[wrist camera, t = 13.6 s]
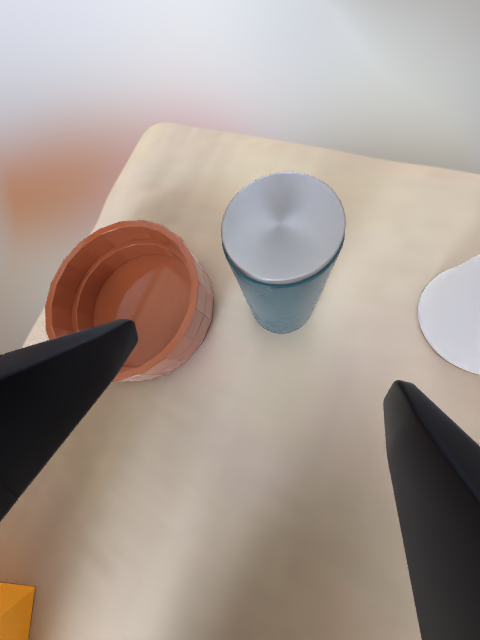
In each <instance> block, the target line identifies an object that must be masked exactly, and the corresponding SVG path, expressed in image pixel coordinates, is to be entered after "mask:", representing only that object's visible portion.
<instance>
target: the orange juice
mask: <svg viewBox="0 0 480 640" xmlns="http://www.w3.org/2000/svg"><path fill="white" fill-rule="evenodd" d="M34 593H35V587H32V586H24V585H17V584H9V583H1V582H0V640H28V637H29V630H30V622H31V615H32V608H33V600H34Z"/></svg>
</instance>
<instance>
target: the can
mask: <svg viewBox="0 0 480 640" xmlns="http://www.w3.org/2000/svg"><path fill="white" fill-rule="evenodd" d="M345 224H346V223H345V213H344V209H343V206H342V204H341V201H340V200H339V198H338V196H337V195H336V194H335V192H334V191H333V190H332V189H331V188H330V187H329V186H328V185H327V184H325V183H324V182H322V181H321V180H319V179H317V178H315V177H312V176H309V175H306V174H302V173H295V172H282V173H275V174H270V175H267V176H264V177H261V178H259V179H257V180H255V181H253V182H251V183H249V184H248V185H247V186H245V187H244V188H243V189H242V190H240V191H239V192H238V193H237V194H236V196H235V197H234V198H233V199H232V201H231V202H230V204H229V205H228V207H227V209H226V211H225V214H224V217H223V221H222V227H221V236H222V246H223V250H224V254H225V256H226V259H227V261H228V263H229V265H230V267H231V269H232V271H233V273H234V275H235V277H236V279H237V281H238V283H239V286H240V288H241V290H242V292H243V294H244V296H245V298H246V300H247V302H248V304H249V306H250V308H251V310H252V312H253V315H254V317H255V318H256V320H257V322H258V323H259V324H260V325H261V326H262V327H264V328H265V329H267V330H269V331H271V332H275V333H289V332H292V331H295V330H297V329H299V328H300V327H301V326H303V325H304V324H305V323H306V321H307V320H308V318H309V317H310V314H311V312H312V310H313V308H314V306H315V304H316V302H317V300H318V297H319V295H320V293H321V291H322V289H323V287H324V285H325V283H326V280H327V278H328V276H329V274H330V272H331V270H332V268H333V266H334V263H335V261H336V259H337V257H338V255H339V253H340V250H341V248H342V245H343V241H344V236H345Z"/></svg>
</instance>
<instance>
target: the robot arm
mask: <svg viewBox="0 0 480 640" xmlns="http://www.w3.org/2000/svg"><path fill="white" fill-rule="evenodd" d="M137 343H138V333H137V329H136V325H135V322H134V321H133V320H129V319H125V318H122V319H118V320H115V321H112V322H108V323H105V324H102V325H98V326H95V327H92V328H88V329H85V330H82V331H78V332H75V333H72V334H68V335H65V336H62V337H58V338H55V339H52V340H48V341H45V342H42V343H38V344H35V345H32V346H28V347H25V348H22V349H18V350H15V351H12V352H8V353H5V354H4V355H0V522H1V520H2V519H3V518H4V517H5V515H6V514H7V513H8V512H9V510H10V509H11V508H12V507H13V505H14V504H15V503H16V501H17V500H18V498H19V497H20V496H21V495H22V494H23V492H24V491H25V490H26V489H27V487H28V486H29V485H30V484H31V482H32V481H33V480H34V479H35V477H36V476H37V475H38V474H39V472H40V471H41V470H42V469H43V467H44V466H45V465H46V464H47V462H48V461H49V460H50V459H51V457H52V456H53V455H54V454H55V452H56V451H57V450H58V448H59V447H60V446H61V445H62V443H63V442H64V441H65V440H66V438H67V437H68V436H69V435H70V433H71V432H72V431H73V430H74V428H75V427H76V426H77V425H78V423H79V422H80V421H81V420H82V418H83V417H84V416H85V415H86V413H87V412H88V411H89V410H90V408H91V407H92V406H93V405H94V403H95V402H96V401H97V400H98V398H99V397H100V396H101V395H102V393H103V392H104V391H105V390H106V388H107V387H108V386H109V384H110V383H111V382H112V381H113V379H114V378H115V377H116V375H117V374H118V372H119V371H120V369H121V368H122V366H123V365H124V363H125V362H126V360H127V359H128V357H129V356H130V354H131V353H132V351H133V349H134V348H135V346H136V345H137ZM383 407H384V421H385V436H386V449H387V457H388V464H389V469H390V474H391V480H392V485H393V490H394V495H395V501H396V506H397V511H398V517H399V522H400V527H401V532H402V538H403V543H404V548H405V553H406V559H407V564H408V569H409V575H410V580H411V585H412V590H413V596H414V601H415V606H416V612H417V617H418V622H419V627H420V633H421V638H422V640H480V446H479V445H478V444H477V443H476V442H475V441H474V440H472V439H471V438H470V437H469V436H468V435H467V434H466V433H465V432H464V431H463V430H462V429H461V428H460V427H459V426H458V425H456V424H455V423H454V422H453V421H452V420H451V419H450V418H449V417H448V416H447V415H446V414H445V413H444V412H443V411H442V410H441V409H439V408H438V407H437V406H436V405H435V404H434V403H433V402H432V401H431V400H430V399H429V398H428V397H427V396H426V395H425V394H423V393H422V392H421V391H420V390H419V389H418V388H417V387H416V386H415V385H414V384H412V383H410V382H405V381H401V380H396V381H395V382H394V383H393V384H392V386H391V388H390V389H389V391H388V393H387V395H386V396H385V398H384V403H383Z"/></svg>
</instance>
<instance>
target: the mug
mask: <svg viewBox="0 0 480 640" xmlns="http://www.w3.org/2000/svg"><path fill="white" fill-rule="evenodd" d="M418 319H419V324H420V327H421V330H422V332H423V334H424V336H425V338H426V340H427V341H428V343H429V344H430V345H431V346H432V348H433V349H434V350H435V351H436V352H437V353H438V354H439V355H440V356H442V357H443V358H444V359H446V360H447V361H448V362H450V363H452V364H453V365H455V366H457V367H459V368H461V369H464V370H466V371H469V372H472V373H476V374H480V253H479V254H478V255H476V256H474V257H473V258H471V259H469V260H468V261H466V262H464V263H463V264H461V265H459V266H456V267H453V268H450V269H448V270H446V271H444V272H442V273H440V274H439V275H437V276H436V277H435V278H434V279H432V280H431V281H430V282H429V284H428V285H427V286H426V287H425V289H424V291H423V293H422V295H421V297H420V300H419V305H418Z"/></svg>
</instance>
